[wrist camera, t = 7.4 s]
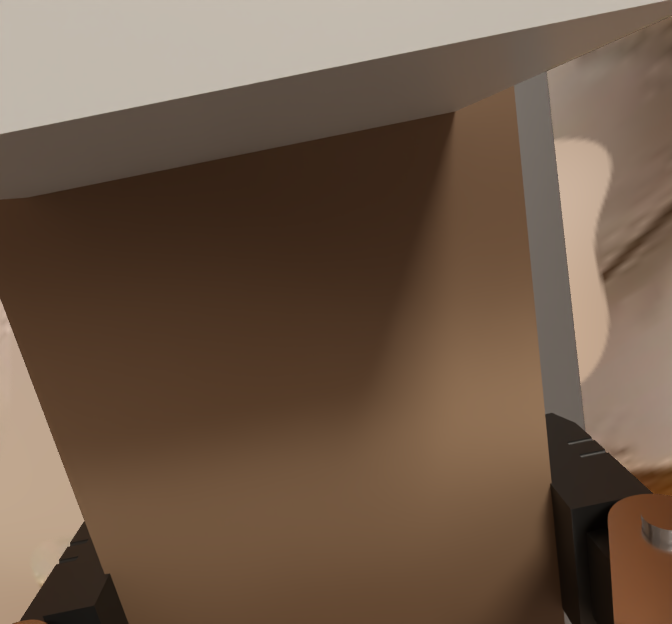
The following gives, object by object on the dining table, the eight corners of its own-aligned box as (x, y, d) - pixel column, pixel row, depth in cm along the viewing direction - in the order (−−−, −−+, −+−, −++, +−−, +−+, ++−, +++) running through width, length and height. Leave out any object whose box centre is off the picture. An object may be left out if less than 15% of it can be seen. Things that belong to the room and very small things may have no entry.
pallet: (-10, -164, 8) (-288, -465, 4) (382, -241, 8) (447, -607, 4) (302, 847, 14) (300, 1091, 11) (524, 801, 14) (603, 1028, 11)
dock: (209, -28, 20) (178, -97, 15) (467, -87, 20) (519, -175, 15) (366, 599, 27) (379, 689, 22) (554, 556, 27) (607, 637, 22)
